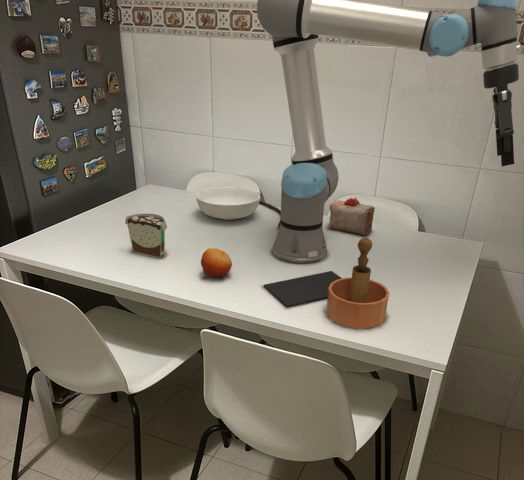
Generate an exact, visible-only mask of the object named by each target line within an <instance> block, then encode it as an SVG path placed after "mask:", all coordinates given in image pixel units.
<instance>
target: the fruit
mask: <svg viewBox="0 0 524 480" xmlns="http://www.w3.org/2000/svg"><path fill="white" fill-rule="evenodd" d="M200 266H201V268H202V271H203V274H204V276H203V277H202V278H203V279H205V278H207V277H210V278H213V279H223V278H225V277H226V276H227V275H228V274H229V272H230V271H231V269H232V266H233V261H232V259H231V257H230V255H229V254H228V253H227V252H226V251H225V250H222V249H220V248H218V247H217V248H216V247H215V248H214V247H209V248H206V249H205V251H203V252H202V256H201V259H200Z"/></svg>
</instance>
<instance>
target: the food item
mask: <svg viewBox="0 0 524 480" xmlns="http://www.w3.org/2000/svg"><path fill="white" fill-rule="evenodd" d="M329 213H330V214H329V224H328V228H329V229H332V230H338V231H342V232H347V233H352V234H356V235H360V236H367V235H369V234H370V233H371V232H372V229H373V221H374V214H375V206H373V205H368V204H363V203H360V201H359V200H358V199H357V196H355V197H354V198H352V197H351V198H347V199H346V200H334V201H332V202H331V203H330V204H329Z"/></svg>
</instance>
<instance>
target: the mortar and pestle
mask: <svg viewBox="0 0 524 480" xmlns="http://www.w3.org/2000/svg"><path fill="white" fill-rule="evenodd" d="M357 248H358V250H359V257H357V265H354V266H353V267H352V271H351V277H352V279H351V287H350V294H349V298H348V299H347V300H346V301H350V302H356V303H369V302H368V301H367V300H366V299H367V293H368V287H369V280H371V273H372V269H371V268H370V267H369V266H368V263H369V260H370V259H369V258H368V254H369V253H370V251H371V250H372V248H373V242H372V239H370V238H369V237H362V238H360V239H359V240H358V242H357Z"/></svg>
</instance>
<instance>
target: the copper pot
mask: <svg viewBox="0 0 524 480" xmlns="http://www.w3.org/2000/svg"><path fill="white" fill-rule="evenodd" d="M341 278H342V279H338V280H336V281H334V282H332V283H331V284H330V286H329V288H328V298H327V299H326V309H325V312H326V315H327V317H328V318H329V319H330V320H331V321H332V322H334V323H335V324H337V325H340V326H343V327H345V328H351V329H357V330H358V329H359V330H360V329H363V330H364V329H371V328H375V327H379V326H380V325H381V324H383V323H384V322H385V319H386V314H387V310H388V304H389V297H390V291H389V290H388V287H386V285H384V284H382V283H381V282H379V281H376V280H373V279H370V280H369V287H368V293H367V299H366V300H367V301H368V302H369V303H356V302H350V301H346V300H347V299H348V298H349V294H350V287H351V279H352V276H351V277H341Z"/></svg>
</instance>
